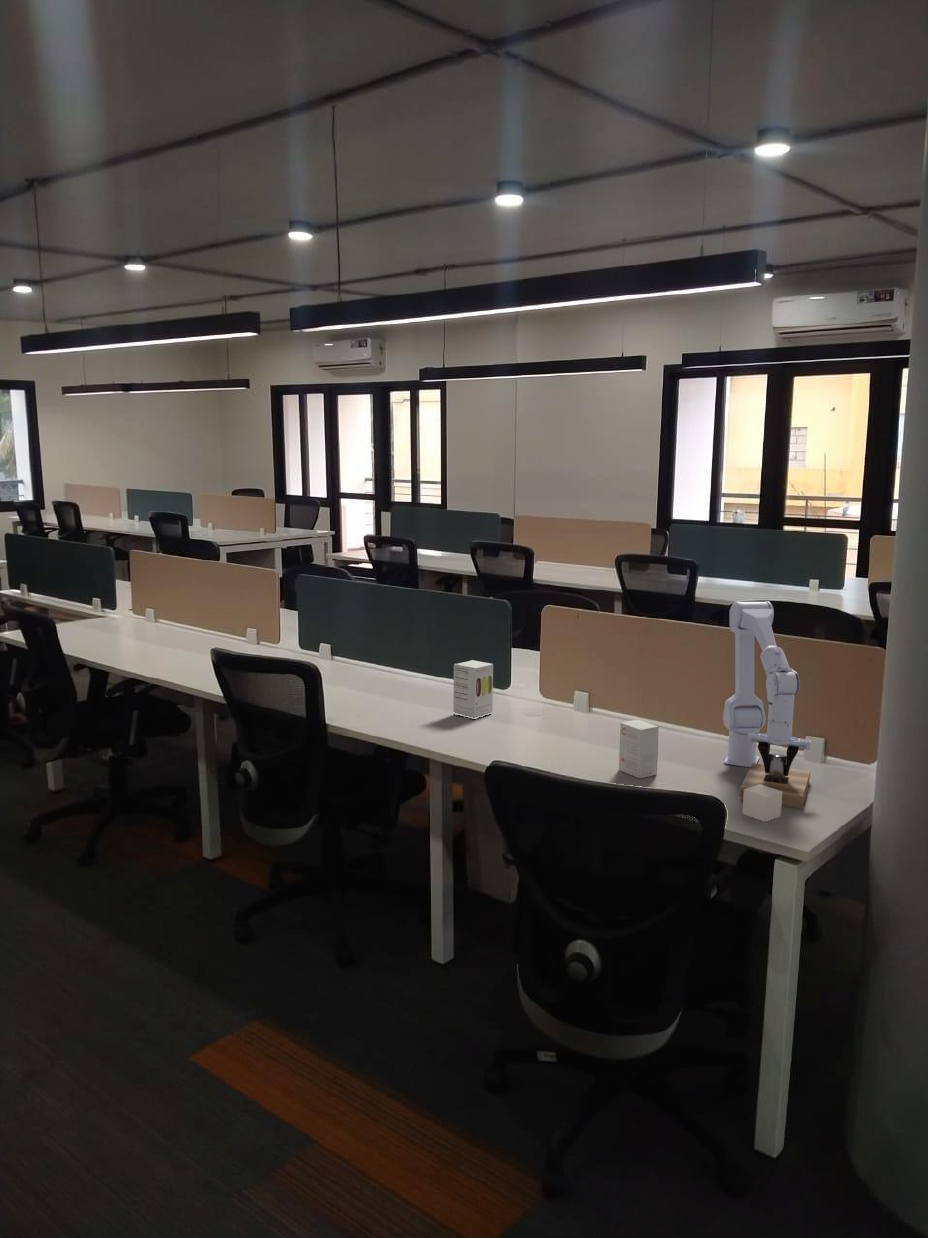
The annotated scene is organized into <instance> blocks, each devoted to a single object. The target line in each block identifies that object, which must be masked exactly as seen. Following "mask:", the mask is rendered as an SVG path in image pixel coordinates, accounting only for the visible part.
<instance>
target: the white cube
mask: <svg viewBox="0 0 928 1238" xmlns="http://www.w3.org/2000/svg"><path fill="white" fill-rule="evenodd" d="M781 805H782V791H779V790H776V789H773V788H770V787H767V786H764V785H761V784H759V785H756V786H753V787H750V788H747V789H744V796H743V800H742V813H743V814H742V815H744V814H746V815H745V816H747V815H748V817H750V816H751V817H750V818H752V817H754V818H753V819H755V818H757V819H756V820H758V819H760V820H762V821H761V822H763V821H766V822H769V821H772V820H775V819H778V818H781V815H782V806H781ZM774 818H775V819H774ZM771 819H772V820H771ZM760 820H759V821H760ZM768 820H769V821H768Z"/></svg>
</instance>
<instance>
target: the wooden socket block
mask: <svg viewBox="0 0 928 1238" xmlns="http://www.w3.org/2000/svg"><path fill="white" fill-rule="evenodd" d="M810 777H811V771H810V770H803V769H796V768H790V769H789V774H788V776H785V784H782V783H775V782H768V774H767V773H765V768H764V764H761V763H757V764H755V763H752V765H751V767H749V770H748V772H747V773H746V776H745V778H744V779H743V782H742V784H741V786H740V791H739V792H740V793H739V800H741V799H743V796H744V789H747V788H750V787H753V786H756V785H759V784H761V785H764V786H767V787H770V788H773V789H776V790H779V791H782V805H781V807H786V808H792V809H799V810H802V809H803V806H804V803H805V800H806V795H807V792H808V789H809V786H810Z"/></svg>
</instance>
